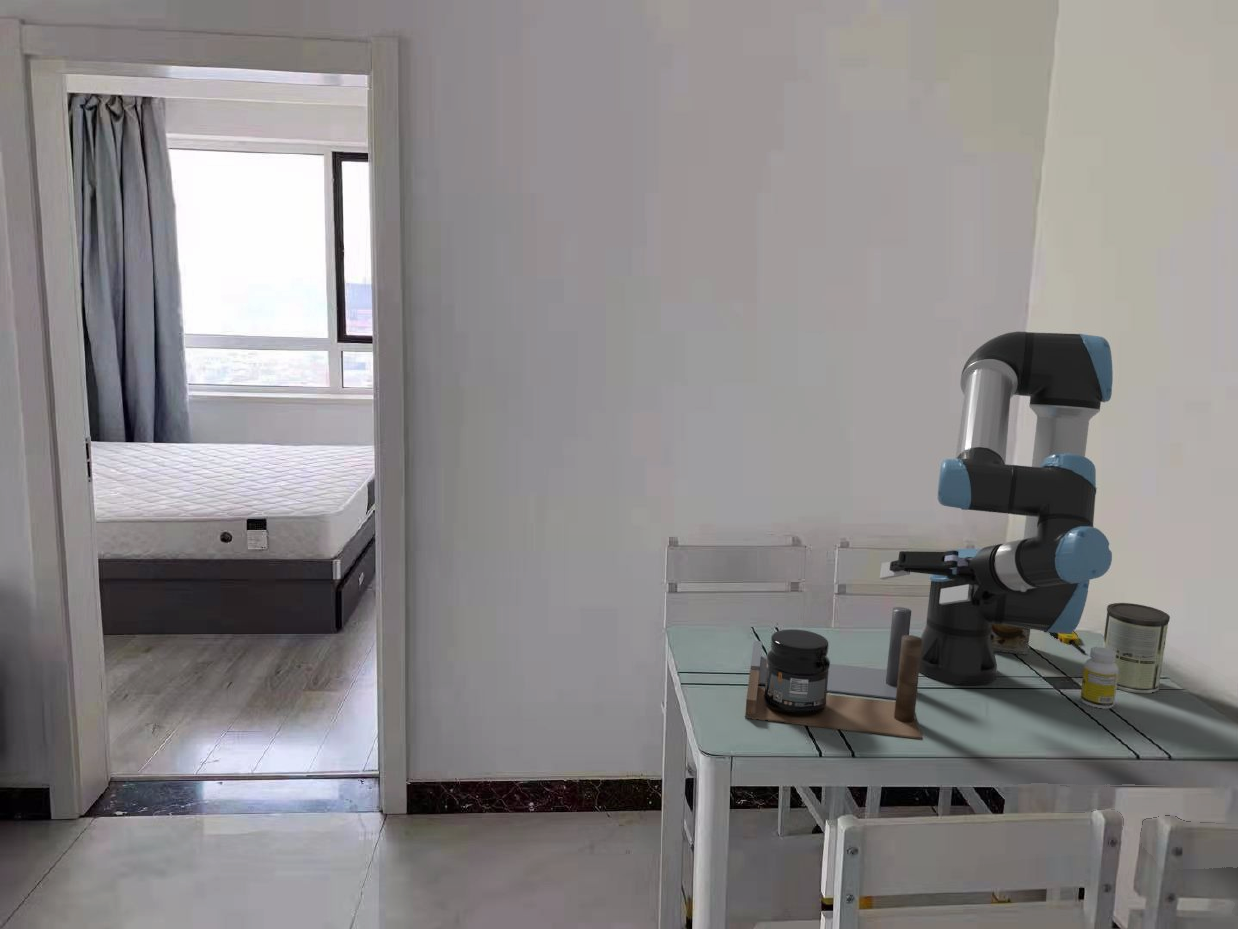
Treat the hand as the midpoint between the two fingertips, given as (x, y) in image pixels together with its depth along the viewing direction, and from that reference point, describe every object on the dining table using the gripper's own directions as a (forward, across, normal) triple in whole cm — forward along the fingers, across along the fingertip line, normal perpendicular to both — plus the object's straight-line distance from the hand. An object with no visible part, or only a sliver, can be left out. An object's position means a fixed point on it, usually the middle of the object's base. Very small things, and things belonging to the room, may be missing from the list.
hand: (912, 584), depth 164 cm
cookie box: (+18, +40, +2) cm, 44 cm away
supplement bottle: (-7, +39, -10) cm, 40 cm away
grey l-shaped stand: (+18, -1, -16) cm, 24 cm away
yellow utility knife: (+15, +56, +8) cm, 59 cm away
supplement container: (+11, -12, -25) cm, 30 cm away
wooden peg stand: (+8, -7, -24) cm, 26 cm away
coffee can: (-3, +51, -3) cm, 51 cm away
